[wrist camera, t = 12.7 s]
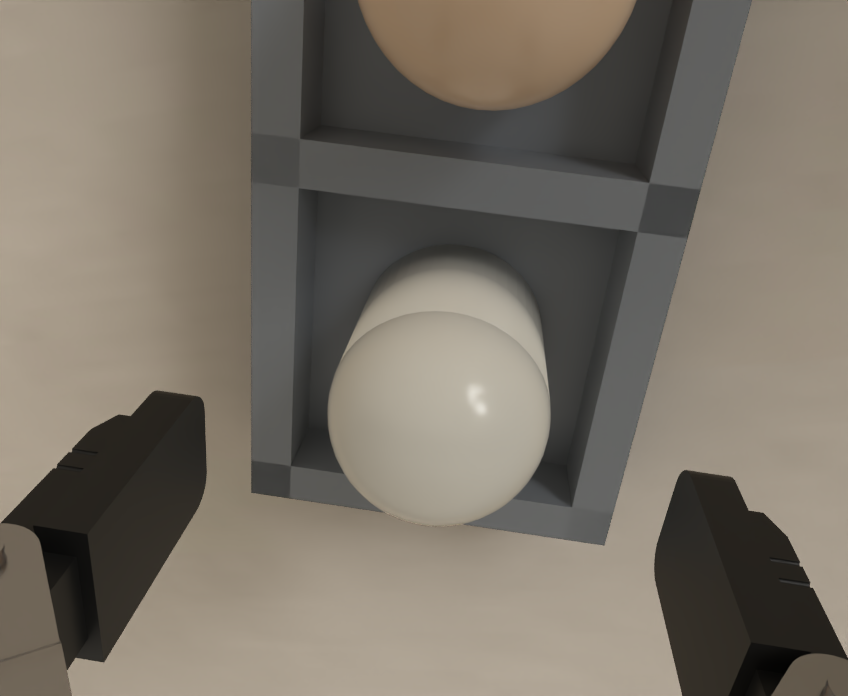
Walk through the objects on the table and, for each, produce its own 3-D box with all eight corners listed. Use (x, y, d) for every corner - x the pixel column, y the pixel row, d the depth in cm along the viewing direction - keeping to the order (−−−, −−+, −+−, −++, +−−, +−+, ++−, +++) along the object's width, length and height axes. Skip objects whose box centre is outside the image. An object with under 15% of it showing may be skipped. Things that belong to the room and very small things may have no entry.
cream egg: (369, 233, 17) (306, 348, 12) (556, 256, 17) (581, 384, 12) (358, 394, 19) (300, 557, 14) (526, 416, 19) (535, 591, 14)
